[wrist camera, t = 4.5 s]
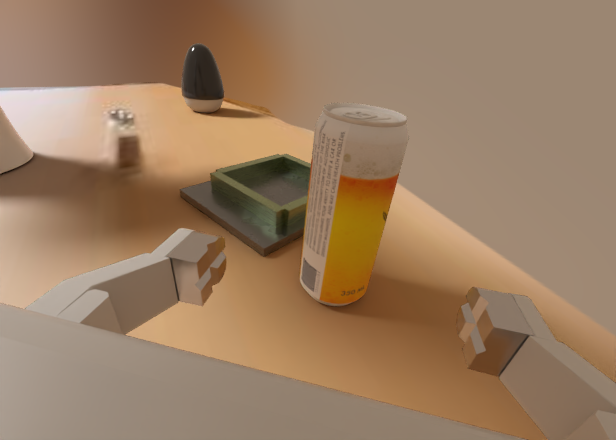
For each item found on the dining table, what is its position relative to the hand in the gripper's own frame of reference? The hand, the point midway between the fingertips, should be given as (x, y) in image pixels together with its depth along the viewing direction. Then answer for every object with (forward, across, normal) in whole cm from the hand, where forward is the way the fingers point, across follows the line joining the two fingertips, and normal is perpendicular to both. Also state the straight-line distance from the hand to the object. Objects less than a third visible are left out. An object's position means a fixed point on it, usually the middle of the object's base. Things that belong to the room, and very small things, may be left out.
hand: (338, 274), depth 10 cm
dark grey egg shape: (+66, +42, +11) cm, 79 cm away
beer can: (+12, 0, +12) cm, 17 cm away
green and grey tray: (+27, +9, +12) cm, 31 cm away
